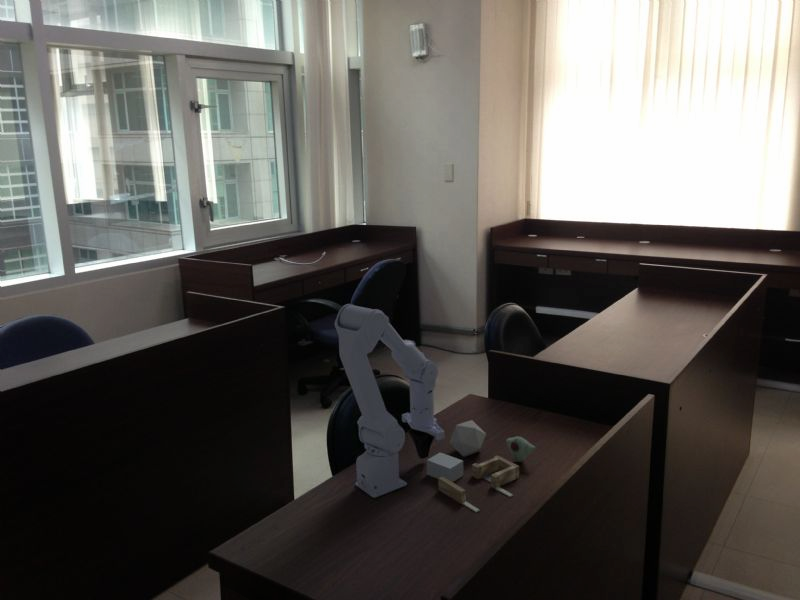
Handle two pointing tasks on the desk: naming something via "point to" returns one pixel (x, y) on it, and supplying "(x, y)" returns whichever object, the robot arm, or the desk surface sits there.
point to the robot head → (519, 448)
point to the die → (467, 438)
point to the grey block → (445, 467)
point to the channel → (491, 470)
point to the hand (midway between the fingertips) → (423, 456)
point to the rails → (477, 508)
